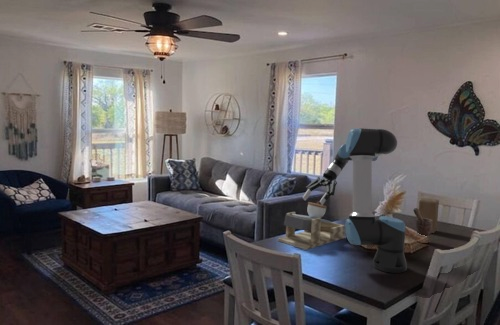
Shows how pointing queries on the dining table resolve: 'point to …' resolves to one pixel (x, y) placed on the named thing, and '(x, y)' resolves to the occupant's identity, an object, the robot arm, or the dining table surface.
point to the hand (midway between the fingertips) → (312, 201)
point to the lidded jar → (316, 210)
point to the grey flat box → (300, 221)
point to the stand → (314, 234)
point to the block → (429, 211)
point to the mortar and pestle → (422, 224)
